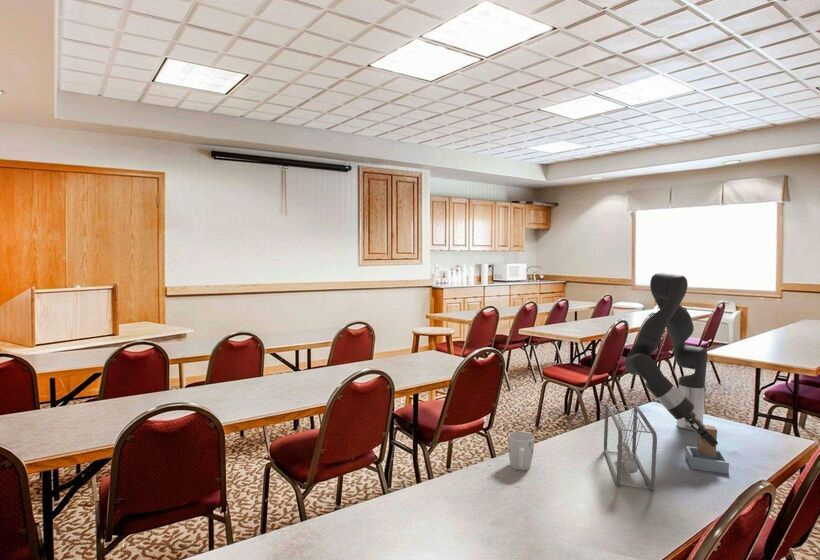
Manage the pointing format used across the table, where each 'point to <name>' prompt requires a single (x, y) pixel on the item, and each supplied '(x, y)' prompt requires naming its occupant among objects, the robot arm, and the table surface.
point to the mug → (520, 449)
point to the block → (703, 445)
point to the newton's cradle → (624, 449)
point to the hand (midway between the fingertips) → (713, 442)
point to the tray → (707, 461)
